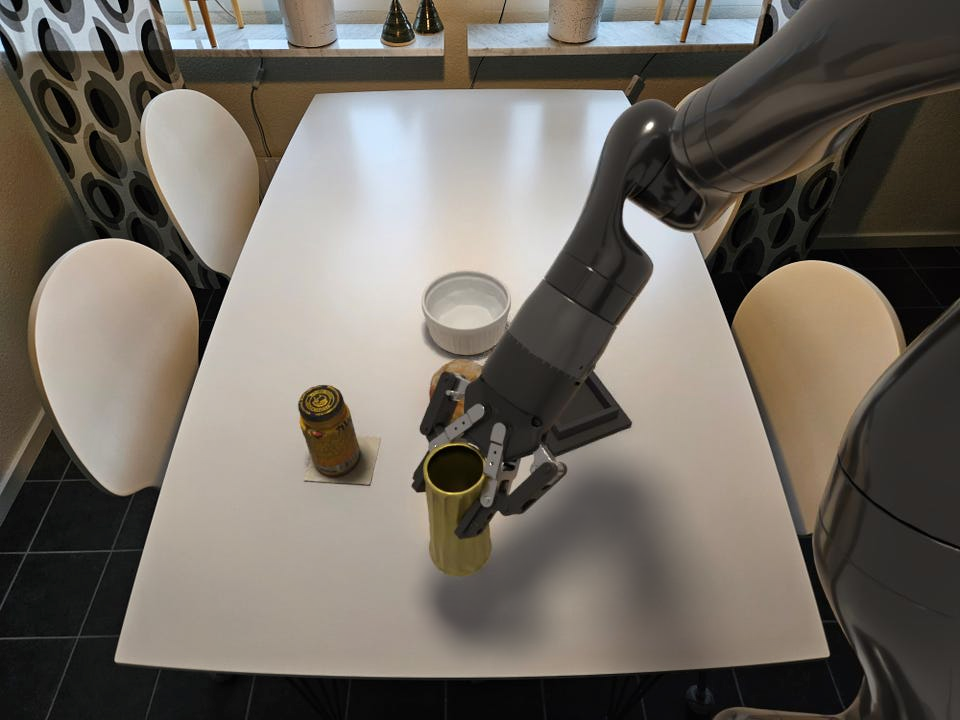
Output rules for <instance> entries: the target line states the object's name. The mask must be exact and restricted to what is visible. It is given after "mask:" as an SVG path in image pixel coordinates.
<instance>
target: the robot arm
mask: <svg viewBox="0 0 960 720" xmlns="http://www.w3.org/2000/svg"><path fill="white" fill-rule="evenodd" d="M959 90H960V0H806V2H804V3H803V5H802V6H801V7H800V8H799V9H798V10H797V11H796V12H795V13H794V14H793V15H792V16H791V17H790V18H789V20H788V21H786V22H785V24H783V25H782V26H781V27H780V28H779V29H778V30H777V31H776V32H774V34H773V35H771V37H769V38H768V39H767V40H766V41H765V42H763V43H762V44H760V45H759V46H758V47H757V48H755V49H754V50H753V51H751V52H750V53H749V54H748V55H746V56H745V57H744V58H742V59H740V60H739V61H738V62H736V63H735V64H733V65H732V66H730V67H729V68H728V69H727V70H725V71H724V72H722V73H721V74H719V75H718V76H717V77H715V78H714V79H712V80H711V81H710V82H708V83H706V84H705V85H703V86H702V87H701V88H700V89H699V90H697V91H695V92H694V93H693V94H692V95H690V96H689V97H688V99H686V100H685V101H684V103H683V104H682V105H681V106H680V107H679V109H675V108H674V107H673V106H671V105H670V104H668V103H667V102H665V101H663V100H660V99H656V98H650V99H649V98H647V99H644V100H641V101H638V102H636V103H634V104H633V105H630V106H629V107H627V108H626V109H625V110H623V112H622V113H621V114H620V115H619V116H618V117H617V118H616V120H615V121H614V122H613V124H612V125H611V127H610V128H609V131H608V132H607V135H606V136H605V140H604V142H603V145H602V148H601V150H600V154H599V156H598V161H597V164H596V167H595V170H594V174H593V177H592V181H591V184H590V187H589V190H588V193H587V196H586V199H585V201H584V204H583V206H582V209H581V211H580V213H579V216H578V218H577V220H576V223H575V225H574V227H573V228H572V231H571V233H570V234H569V237H568V238H567V239H566V241H565V242H564V245H563V246H562V248H561V250H560V251H559V253H558V254H557V256H556V257H555V258H554V261H553V262H552V263H551V265H550V267H549V268H548V270H547V271H546V272H545V274H544V275H543V278H542V279H541V281H539V283H538V285H537V286H536V287H535V288H534V289H533V290H532V292H531V293H530V294H529V295H528V296H527V298H526V299H525V300H524V302H523V303H522V305H520V307H519V309H518V310H517V311H516V314H515V315H514V317H513V319H512V320H511V321H510V323H509V324H508V326H507V328H505V331H504V334H503V335H502V337H501V339H500V340H499V342H498V343H497V344H496V345H494V348H493V350H492V351H491V352H490V354H489V356H488V357H487V359H486V360H485V362H484V363H483V365H482V366H483V367H482V369H481V374H480V376H479V377H478V378H477V379H475V380H474V381H472V382H470V381H468V380H467V379H466V377H465V376H464V375H463V374H458V373H452V372H447V371H444V372H443V373H442V374H441V375H440V378H439V380H438V383H437V385H436V387H435V390H434V392H433V395H432V397H431V400H430V399H429V402H428V405H427V407H426V410H425V412H424V414H423V416H422V420H421V423H420V425H419V433H420V434H421V435H422V436H425V438H426V441H427V442H428V445H427V448H428V449H427V452H426V453H425V455H424V456H423V457H422V459H421V461H420V462H419V464H418V466H417V467H416V469H415V470H414V472H413V474H412V478H411V479H412V480H413V482H412V484H411V488H412V489H413V491H415V493H417V494H418V493H426V489H425V488H426V483H425V480H424V471H423V466H424V462H425V460H426V458H427V456H428V455H429V454H430V453H431V452H432V451H433V450H434V449H435V448H437V447H438V446H440V445H442V444H445V443H451V442H464V443H467V444H470V445H472V446H474V447H476V448H477V449H479V450H480V452H481V454H482V455H483V456H484V457H485V459H486V464H485V468H484V476H485V481H484V485H483V489H482V493H481V497H480V499H476V500H475V501H474V503H473V504H472V506H471V507H470V509H469V510H468V512H467V513H466V515H465V516H464V517H463V519H462V520H461V522H460V523H459V525H458V526H457V528H456V529H455V531H454V534H455V535H456V536H457V537H458V538H459V539H460V540H461V539H466V538H472V537H477V536H479V535H480V534H482V533H483V531H484V530H485V528H486V527H487V525H488V524H489V525H490V522H491V521H492V519H493V518H494V517H495V516H496V514H497V512H499V514H500V515H502V516H503V517H510V516H513V515H524V514H525V513H526V512H527V511H528V510H529V509H530V508H531V507H533V506H534V505H535V504H536V503H537V502H538V501H539V500H541V498H542V497H544V495H546V494H547V493H548V492H549V491H551V489H552V488H554V487H555V486H556V484H557V483H559V482H560V481H561V480H562V479H563V478H564V477H565V476H566V475H567V473H568V466H567V465H566V463H565V462H563V461H558V460H557V459H556V458H555V457H554V456H553V455H552V454H551V452H550V451H549V449H548V448H547V446H546V444H547V439H548V434H549V431H550V429H551V427H552V426H553V425H554V424H555V422H556V421H557V420H558V419H559V417H560V416H561V414H562V413H563V411H564V410H565V408H566V407H567V406H568V404H569V403H570V401H571V400H572V398H573V397H574V395H575V394H576V392H577V391H578V390H579V388H580V387H581V385H582V384H583V382H584V381H585V379H586V378H587V376H588V375H590V374H591V373H592V372H593V371H594V370H595V369H596V367H597V363H598V362H599V361H600V359H601V357H602V356H603V355H604V353H605V351H606V349H607V347H608V346H609V343H610V341H611V339H612V337H613V336H614V333H615V332H616V330H617V329H618V326H620V325H621V322H622V321H623V320H624V318H625V317H626V315H627V313H628V312H629V311H630V309H631V308H632V306H633V305H634V303H635V302H636V300H638V299H637V298H639V297H640V295H641V293H642V292H643V291H644V289H645V287H646V286H647V285H648V283H649V282H650V280H651V278H652V276H653V273H654V268H655V267H654V266H655V265H654V263H653V260H652V259H651V257H650V255H648V253H647V252H646V251H645V250H644V249H643V248H642V246H640V245H639V244H638V242H636V240H634V238H633V237H632V236H631V235H630V233H629V232H628V231H627V229H626V228H625V224H624V207H625V203H626V200H627V201H629V202H630V203H631V204H633V205H634V206H636V207H638V208H639V209H640V210H642V211H643V212H645V213H646V214H648V215H649V216H651V217H653V218H654V219H655V220H657V221H658V222H660V223H661V224H663V225H664V226H665V227H667V228H669V229H672V230H674V231H677V232H681V233H684V234H685V233H687V234H695V233H701V232H703V231H705V230H707V229H709V228H711V226H712V225H714V224H715V223H716V222H717V221H718V220H719V219H720V218H721V217H723V215H724V214H725V213H726V211H727V210H729V208H730V207H731V206H732V205H733V204H735V203H736V202H737V201H738V200H740V199H741V198H742V197H744V196H745V195H746V194H747V193H748V192H751V191H754V190H758V189H760V188H763V187H766V186H768V185H769V186H770V185H772V184H775V183H777V182H781V181H782V180H786V179H789V178H792V177H794V176H796V175H799V174H801V173H803V172H806V171H808V170H810V169H811V168H813V167H815V166H817V165H818V164H820V163H821V162H823V161H825V160H826V159H828V158H829V157H831V156H832V155H833V154H835V153H836V152H837V151H838V150H839V149H840V148H841V147H842V146H843V145H844V144H845V143H846V142H847V141H848V140H849V139H850V137H851V136H852V134H853V133H854V132H855V130H856V129H857V127H858V126H859V124H860V123H861V121H862V120H863V118H864V117H865V116H867V115H869V114H872V113H874V112H876V111H878V110H882V109H883V108H886V107H889V106H893V105H897V104H900V103H903V102H908V101H912V100H916V99H921V98H925V97H930V96H934V95H940V94H944V93H949V92H953V91H959ZM463 398H464V415H463V416H461V417H460V418H458V419H457V420H456V421H454V422H453V423H452V424H450V421H451V419H452V417H453V414H454V412H455V409H456V407H457V404H458V402H459V401H460V400H462V399H463ZM449 424H450V425H449ZM532 455H533V462H532V464H530V467H529V472H530V475H529V476H527V477H526V478H525V479H524V481H522V482H521V483H520V484H519V485H518V486H517V487H516V488H515V489H514V490H513V491H512V492H511V489H512V486H513V485H512V484H513V481H515V479H516V478H517V476H518V473H519V469H520V465H521V461H522V459H523V458H526V457H530V456H532ZM510 492H511V493H510ZM814 521H815V522H814V525H813V529H812V538H811V539H812V540H811V542H812V543H811V544H812V550H813V560H814V565H815V568H816V571H817V575H818V578H819V581H820V584H821V587H822V589H823V591H824V594H825V597H826V599H827V600H828V604H829V606H830V608H831V610H832V612H833V614H834V617H835V619H836V621H837V622H838V624H839V626H840V627H841V630H842V632H843V634H844V636H845V638H846V639H847V641H848V643H849V645H850V646H851V648H852V650H853V652H854V654H855V655H856V658H857V660H858V662H859V664H860V666H861V669H862V672H863V678H862V683H861V685H860V688H859V691H858V693H857V695H856V697H855V698H854V700H853V702H852V703H851V704H850V706H848V708H847V709H845V710H844V711H842V712H840V713H837V714H818V713H808V712H797V711H789V710H787V711H786V710H777V709H776V710H775V709H762V708H754V707H745V706H744V707H741V706H734V707H729V708H726V709H723V710H721V711H720V712H718V713H716V714H715V715H714V716H713V717H712V718H711V720H960V296H958V297H957V298H956V299H955V301H953V302H952V303H951V304H950V305H949V306H948V307H947V308H946V309H945V310H944V311H943V312H942V313H941V314H940V315H939V316H938V317H936V319H935V320H933V321H932V322H931V324H930V325H928V326H927V327H926V328H925V329H924V330H923V331H922V332H921V333H920V334H919V335H918V336H917V337H916V338H915V339H914V340H913V341H912V342H911V343H909V345H908V346H907V347H906V348H905V349H903V351H902V352H901V353H900V354H899V355H898V356H897V357H896V358H895V359H894V360H893V361H892V363H890V364H889V365H888V367H886V368H885V370H884V371H883V372H882V373H881V374H880V375H879V377H878V378H877V379H876V381H874V383H873V384H872V385H871V387H870V388H868V390H867V391H866V393H865V394H864V395H863V398H862V399H861V401H859V404H857V406H856V407H855V409H854V411H853V413H852V414H851V416H850V418H849V420H848V422H847V424H846V427H845V430H844V431H843V434H842V437H841V440H840V442H839V446H838V449H837V452H836V455H835V458H834V461H833V465H832V466H831V470H830V473H829V476H828V479H827V482H826V484H825V488H824V490H823V493H822V497H821V500H820V503H819V505H818V510H817V514H816V517H815V520H814Z"/></svg>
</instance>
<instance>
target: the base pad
mask: <svg viewBox="0 0 960 720" xmlns="http://www.w3.org/2000/svg"><path fill="white" fill-rule="evenodd" d="M632 426H633V421H632V420H631V418H630V417H629V416H628V415H627V414H626V412H625V411H624V409H623V408H622V406H621V405H620V404H619V403H618V401H617V400H616V399H615V398H614V396H613V394H612V393H611V392H610V391H609V389H608V388H607V387H606V385H605V384H604V383H603V381H602V380H601V379H600V378H599V376H598V375H597V374H596V372H595V371H594V370H593V372H592V373H591V374H590V375H588V376H587V378H586V379H585V381H584V382H583V384H582V385H581V387H580V388H579V390H578V391H577V392H576V394H575V395H574V397H573V398H572V400H571V401H570V403H569V404H568V406H567V407H566V408H565V410H564V411H563V413H562V414H561V416H560V417H559V419H558V420H557V421H556V422H555V424H554V425H553V426H552V427H551V429H550V431H549V434H548V439H547V444H546V447H547V448H548V450H549V451H550V452H551V454H552V455H553V456H554V458H555V457H557V456H560V455H562V454H565V453H567V452H570V451H573V450H576V449H578V448H581V447H583V446H585V445H588V444H591V443H593V442H595V441H596V442H597V441H598V440H601V439H603V438H605V437H606V438H607V437H608V436H611V435H613V434H616V433H618V432H619V433H620V432H622V431H625V430H626V429H629V428H631V427H632Z"/></svg>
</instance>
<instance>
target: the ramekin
mask: <svg viewBox="0 0 960 720" xmlns="http://www.w3.org/2000/svg"><path fill="white" fill-rule="evenodd" d="M511 296H512V295H511V292H510V290H509V288H508V286H507V285H506V283H504V281H502V280H501V279H500V278H498V277H497V276H495V275H494V274H491V273H489V272H486V271H482V270H477V269H455V270H451V271H448V272H444V273H442V274H440V275H438V276H436V277H434V278H433V279H432V280H431V281H430V282H429V283H428V284H427V285H426V286H425V288H424V289H423V292H422V294H421V310H422V313H423V316H424V318H425V321H426V326H427V329H428V331H429V334H430V337H431V339H432V340H433V342H435V344H437V345H438V347H440V348H441V349H443V350H445V351H446V352H449V353H451V354H455V355H461V356H472V355H478V354H481V353H484V352H487V351H488V350H490V349H492V348H493V347H495V346H496V345H497V343H498V342H499V340H500V339H501V337H502V335H503V334H504V332H505V331H506V327H507V323H508V317H509V314H510V311H511V307H512V297H511Z"/></svg>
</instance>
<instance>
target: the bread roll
mask: <svg viewBox="0 0 960 720" xmlns="http://www.w3.org/2000/svg"><path fill="white" fill-rule="evenodd" d="M482 367H483V365H481V364H480V363H477V362H474V361H472V360H468V359H454V360H452V361H449V362H448V363H446V364H444V365H442V366H441V367H440V368H439V369H438V370H437V371H436V372H435V373H433V376H432V377H431V380H430V386H429V391H428V392H429V393H428V396H429V401H430V400H431V397H432V395H433V392H434V390H435V387H436V385H437V383H438V380H439V378H440V375H441V374H442V373H443V372H444V371H447V372H452V373H458V374H463V375H464V376H465V377H466V379H467V380H468V381H470V382H472V381H474V380H475V379H477V378H478V377H479V376H480V374H481V369H482ZM463 415H464V398H463V399H462V400H460V401H459V402H458V404H457V407H456V409H455V412H454V414H453V417H452V419H451V421H450V424H452V423H453V422H454V421H456V420H457V419H458V418H460V417H461V416H463ZM450 424H449V425H450Z"/></svg>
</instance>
